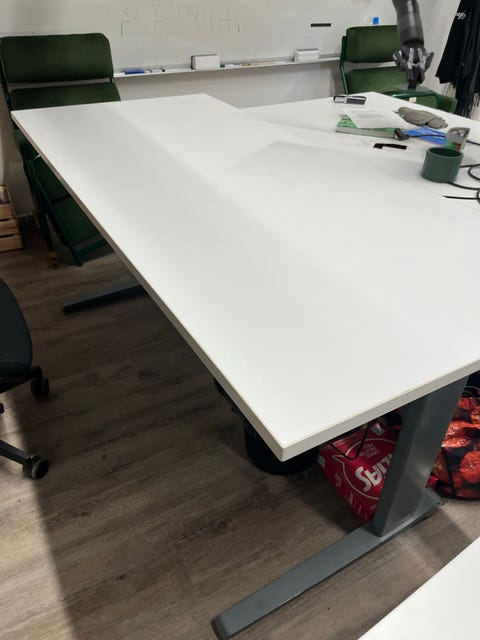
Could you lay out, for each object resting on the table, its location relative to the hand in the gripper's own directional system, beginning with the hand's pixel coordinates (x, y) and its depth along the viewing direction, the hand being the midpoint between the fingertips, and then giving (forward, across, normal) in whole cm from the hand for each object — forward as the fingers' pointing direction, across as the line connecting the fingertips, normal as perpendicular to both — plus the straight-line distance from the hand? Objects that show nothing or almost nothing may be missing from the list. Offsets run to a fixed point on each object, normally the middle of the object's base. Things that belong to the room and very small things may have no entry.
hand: (416, 82), depth 151 cm
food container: (+23, +13, +8) cm, 27 cm away
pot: (+32, +3, -1) cm, 32 cm away
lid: (0, 0, +3) cm, 3 cm away
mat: (+11, 0, +21) cm, 23 cm away
